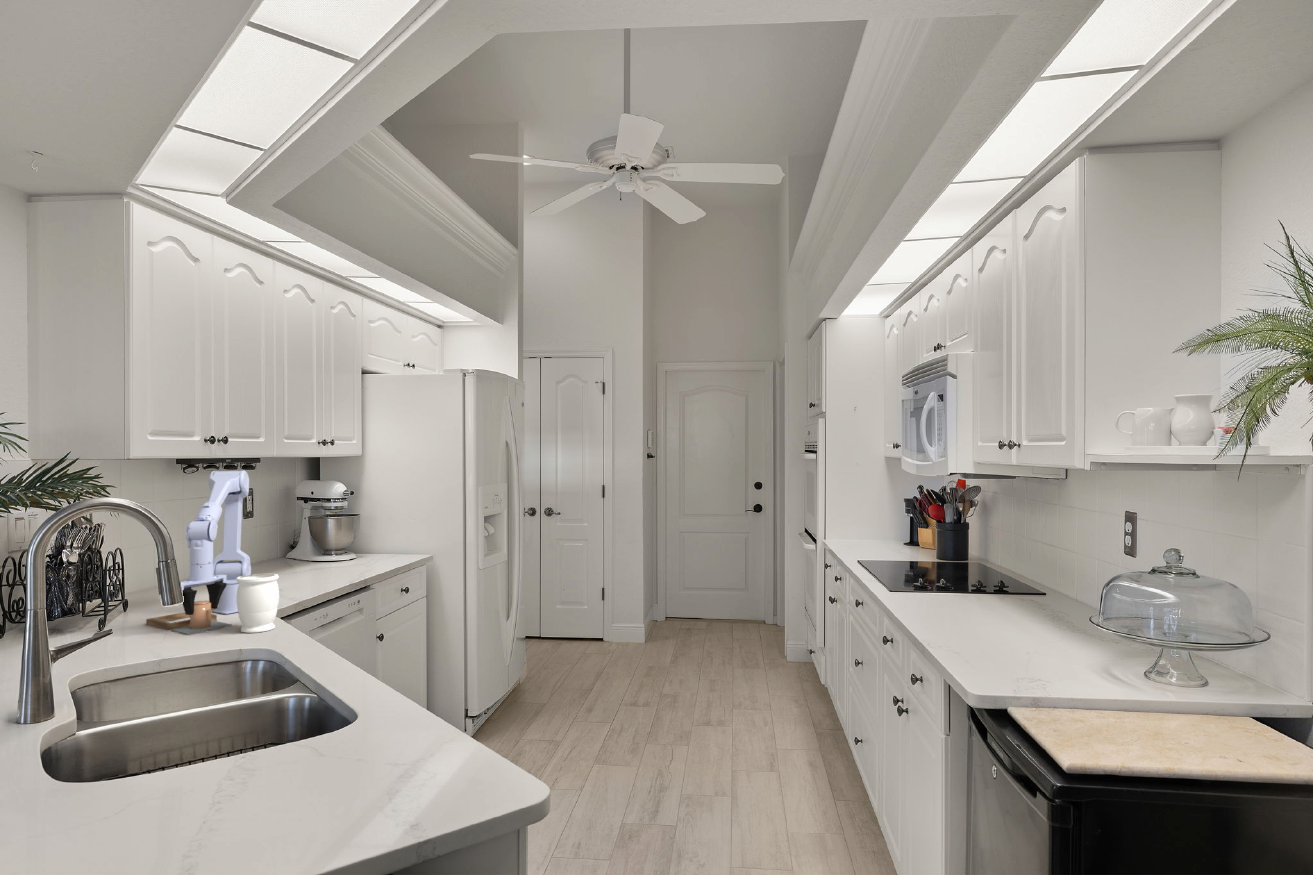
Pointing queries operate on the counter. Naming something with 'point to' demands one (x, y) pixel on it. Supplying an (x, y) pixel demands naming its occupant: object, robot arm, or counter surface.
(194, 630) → the mat
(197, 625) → the jug
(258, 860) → the counter surface
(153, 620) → the wooden tray
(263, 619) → the jar
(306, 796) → the counter surface
